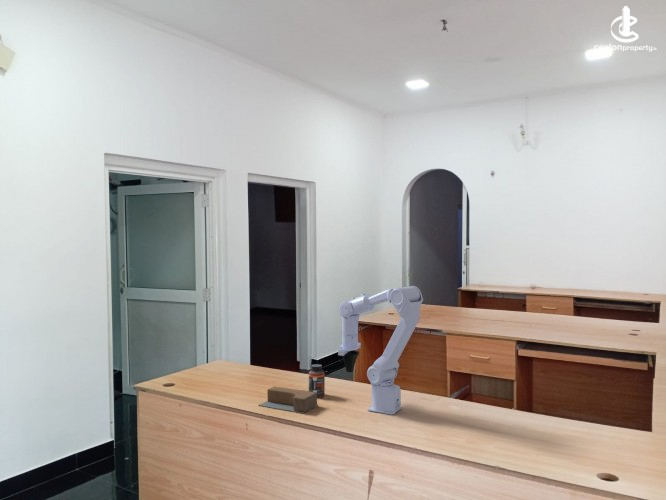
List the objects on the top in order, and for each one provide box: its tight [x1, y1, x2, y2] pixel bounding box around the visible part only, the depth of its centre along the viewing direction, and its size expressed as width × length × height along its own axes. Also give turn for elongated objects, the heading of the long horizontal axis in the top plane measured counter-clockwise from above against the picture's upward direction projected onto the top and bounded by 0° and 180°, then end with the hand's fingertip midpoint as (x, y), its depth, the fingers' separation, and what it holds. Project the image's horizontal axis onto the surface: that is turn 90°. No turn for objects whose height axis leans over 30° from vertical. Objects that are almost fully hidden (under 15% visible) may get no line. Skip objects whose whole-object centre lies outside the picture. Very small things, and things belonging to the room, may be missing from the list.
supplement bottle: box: [308, 363, 326, 398], centre depth 193 cm, size 6×6×11 cm
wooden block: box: [266, 386, 318, 413], centre depth 180 cm, size 9×4×18 cm
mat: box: [258, 400, 318, 414], centre depth 181 cm, size 18×10×1 cm, turn 62°
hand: (349, 371), depth 186 cm, fingers closed
